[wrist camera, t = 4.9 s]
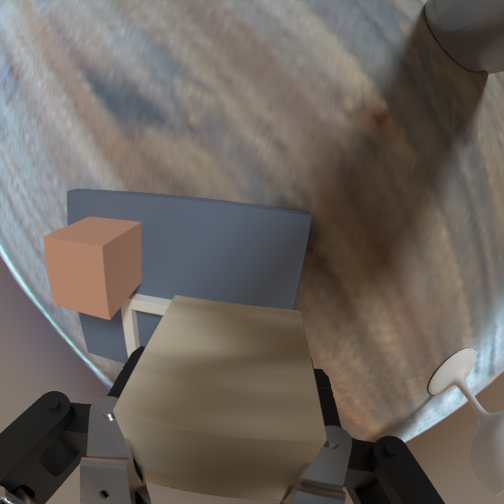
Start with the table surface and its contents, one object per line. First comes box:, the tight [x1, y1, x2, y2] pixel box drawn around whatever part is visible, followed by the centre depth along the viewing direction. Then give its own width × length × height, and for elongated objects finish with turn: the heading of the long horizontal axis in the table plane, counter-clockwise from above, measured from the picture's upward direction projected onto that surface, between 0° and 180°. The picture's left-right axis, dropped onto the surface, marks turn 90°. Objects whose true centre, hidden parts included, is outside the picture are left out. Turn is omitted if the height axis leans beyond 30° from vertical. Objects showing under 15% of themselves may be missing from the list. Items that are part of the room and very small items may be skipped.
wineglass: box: [429, 348, 504, 498], centre depth 17 cm, size 9×9×21 cm
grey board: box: [67, 189, 312, 363], centre depth 22 cm, size 20×17×2 cm
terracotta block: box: [44, 217, 142, 320], centre depth 17 cm, size 5×5×6 cm
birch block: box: [113, 295, 327, 500], centre depth 9 cm, size 5×5×6 cm
